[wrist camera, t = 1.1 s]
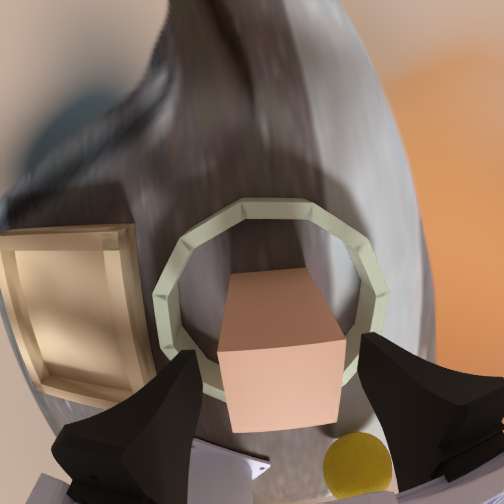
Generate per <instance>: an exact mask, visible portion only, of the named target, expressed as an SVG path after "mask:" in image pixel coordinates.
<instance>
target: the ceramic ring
mask: <svg viewBox="0 0 504 504" xmlns="http://www.w3.org/2000/svg"><path fill="white" fill-rule="evenodd" d="M244 219H309V220H310V221H312V222H314V223H315V224H317V225H318V226H320V227H322V228H323V229H325V230H326V231H328V232H330V233H331V234H333V235H334V236H336V237H337V238H339V239H341V240H342V241H343V242H344V244H345V246H346V248H347V250H348V253H349V255H350V257H351V259H352V261H353V263H354V266H355V268H356V270H357V272H358V275H359V277H360V279H361V285H360V293H359V300H358V306H357V313H356V319H355V324H354V325H353V326H352V328H351V329H350V330H349V332H348V333H347V334H346V336H345V338H346V350H345V361H344V371H343V380H342V386H344V385H345V384H346V383H347V382H348V381H349V380H350V379H351V377H352V376H353V375H354V374H355V373H356V372H357V365H358V358H359V349H360V340H361V334H363V333H369V332H375V333H377V334H379V335H381V333H382V328H383V324H384V319H385V314H386V308H387V303H388V298H389V289H388V287H387V284H386V282H385V279H384V276H383V274H382V271H381V269H380V266H379V264H378V261H377V259H376V256H375V254H374V251H373V249H372V247H371V244H370V242H369V240H368V238H366V237H365V236H363V235H362V234H360V233H359V232H357V231H356V230H354V229H353V228H351V227H350V226H348V225H347V224H345V223H344V222H342V221H341V220H339V219H338V218H336V217H335V216H333V215H332V214H330V213H329V212H327V211H326V210H324V209H322V208H321V207H319V206H318V205H316V204H315V203H313V202H311V201H308V200H306V199H304V198H241V199H239V200H237V201H235V202H234V203H232V204H230V205H228V206H227V207H225V208H223V209H222V210H220V211H218V212H217V213H215V214H213V215H211V216H210V217H208V218H206V219H205V220H203V221H201V222H200V223H198V224H197V225H195V226H193V227H192V228H190V229H189V230H188V231H187V232H186V233H185V234H184V235H182V236H181V237H180V238H179V240H178V242H177V244H176V246H175V248H174V250H173V252H172V254H171V256H170V258H169V260H168V262H167V264H166V266H165V268H164V270H163V272H162V274H161V277H160V279H159V281H158V283H157V285H156V287H155V289H154V291H153V294H152V296H153V304H154V311H155V318H156V325H157V331H158V337H159V343H160V348H161V350H162V351H163V352H164V354H165V355H166V356H167V357H168V358H169V360H170V361H171V360H172V359H173V358H174V357H175V356H176V355H177V354H178V353H179V352H180V351H181V350H193V349H195V351H196V355H197V360H198V364H199V369H200V373H201V377H202V382H203V393H205V394H207V395H210V396H212V397H214V398H217V399H219V400H222V401H224V402H226V396H225V391H224V386H223V381H222V376H221V370H220V365H219V364H217V363H215V362H213V361H211V360H209V359H207V358H206V356H205V355H204V354H203V352H202V351H201V350H200V349H199V347H198V346H197V345H196V343H195V342H194V341H193V340H192V338H191V337H190V336H189V334H188V333H187V332H186V330H185V329H184V328H183V326H182V322H181V313H180V303H179V292H178V280H179V278H180V276H181V274H182V272H183V270H184V268H185V266H186V264H187V262H188V260H189V259H190V257H191V255H192V253H193V251H194V249H195V248H196V247H198V246H199V245H201V244H203V243H204V242H206V241H208V240H209V239H211V238H213V237H215V236H216V235H218V234H220V233H221V232H223V231H225V230H227V229H228V228H230V227H232V226H234V225H235V224H237V223H239V222H241V221H242V220H244Z"/></svg>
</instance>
